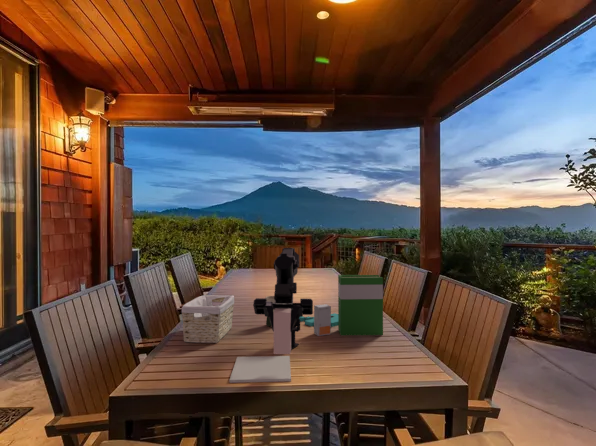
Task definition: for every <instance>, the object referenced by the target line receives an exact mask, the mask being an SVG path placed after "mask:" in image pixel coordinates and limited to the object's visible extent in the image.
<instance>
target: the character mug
mask: <svg viewBox="0 0 596 446" xmlns="http://www.w3.org/2000/svg"><path fill="white" fill-rule="evenodd" d="M264 298H266V299H267V301H271V302H273V303H275V300H274V295H267V296H265V297H264ZM274 310H275V309H273V313H274ZM265 321H266V323H265V324H266V326H267V327H272V326H271V323H270V320H269V318H268V317H266V320H265Z"/></svg>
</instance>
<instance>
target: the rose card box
mask: <svg viewBox="0 0 596 446" xmlns="http://www.w3.org/2000/svg"><path fill="white" fill-rule="evenodd" d="M290 327H291V308H275V310H274V332H273V355H291V353H292V349H291V331H290Z"/></svg>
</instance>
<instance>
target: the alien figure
mask: <svg viewBox="0 0 596 446" xmlns="http://www.w3.org/2000/svg"><path fill="white" fill-rule="evenodd" d="M299 319H300V323H303V322H304V325H306V326H308V327H314V316H310V315H307V316H302V317H299ZM337 326H338V313H335V312H334V313H331V328H333V327H337Z"/></svg>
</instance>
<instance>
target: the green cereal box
mask: <svg viewBox="0 0 596 446" xmlns="http://www.w3.org/2000/svg"><path fill="white" fill-rule="evenodd" d="M337 278H338V279H337V281H338V282H337V286H338V287H337V288H338V291H337V292H338V293H337V294H338V296H337V297H338V299H337V303H338V304H337V306H338V307H337V308H338V310H337V311H338V313H337V314H338V327H337V329H338V332H339V334H340V336H384V309H383V308H384V277H382V276H380V275H379V274H338V275H337Z"/></svg>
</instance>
